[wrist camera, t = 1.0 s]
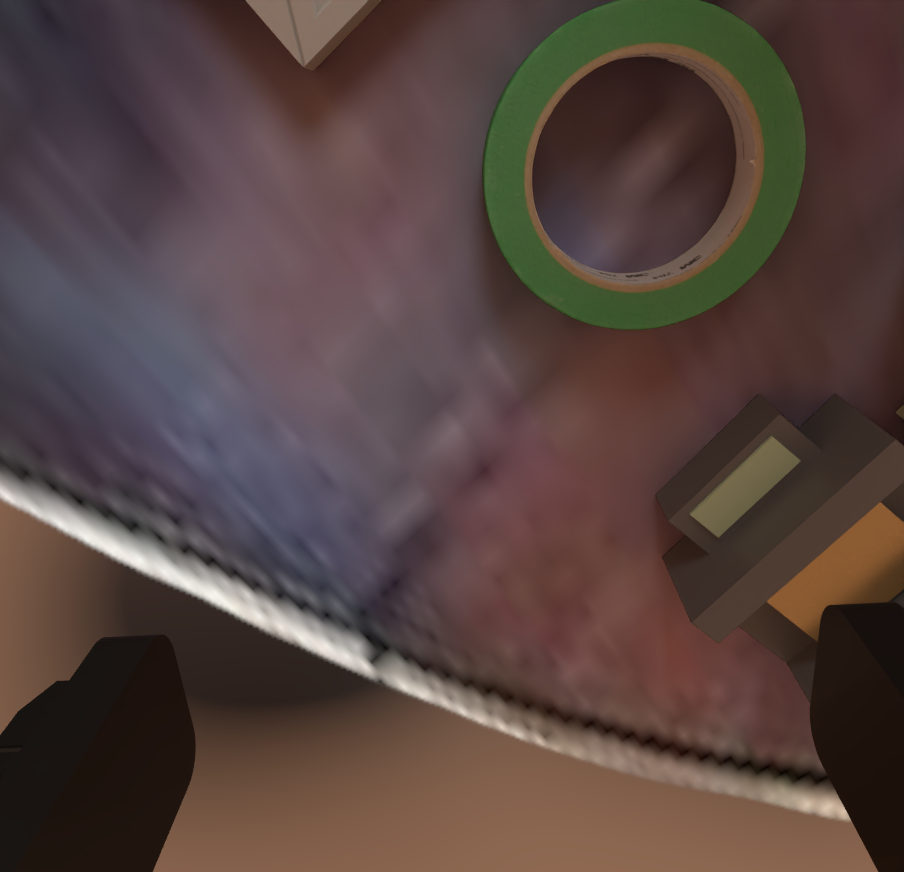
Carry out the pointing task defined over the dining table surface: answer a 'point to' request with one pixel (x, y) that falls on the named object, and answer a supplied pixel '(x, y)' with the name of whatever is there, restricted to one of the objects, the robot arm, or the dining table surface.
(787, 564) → the cradle
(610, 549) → the dining table surface
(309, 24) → the envelope
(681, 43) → the tape roll
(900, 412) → the trough
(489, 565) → the dining table surface
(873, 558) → the pad
